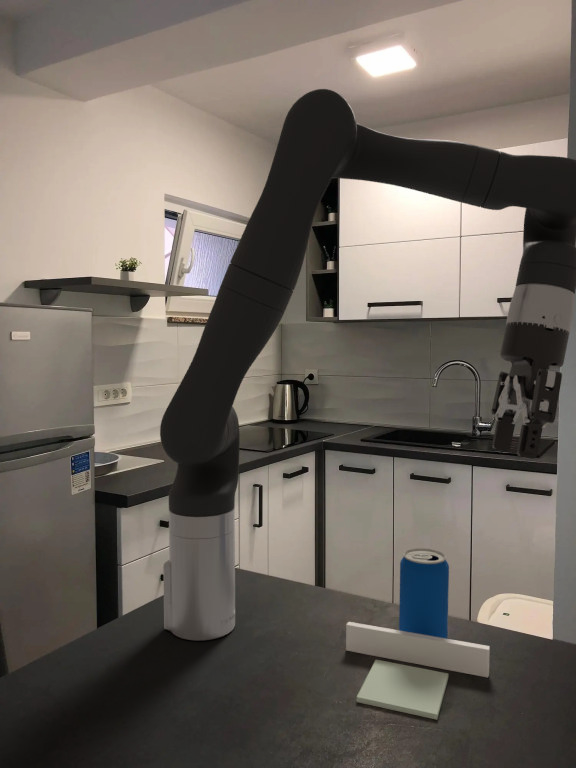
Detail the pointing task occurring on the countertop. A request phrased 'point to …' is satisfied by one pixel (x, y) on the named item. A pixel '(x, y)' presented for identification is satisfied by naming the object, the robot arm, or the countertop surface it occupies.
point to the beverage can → (424, 592)
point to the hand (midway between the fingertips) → (512, 453)
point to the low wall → (418, 649)
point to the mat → (404, 689)
